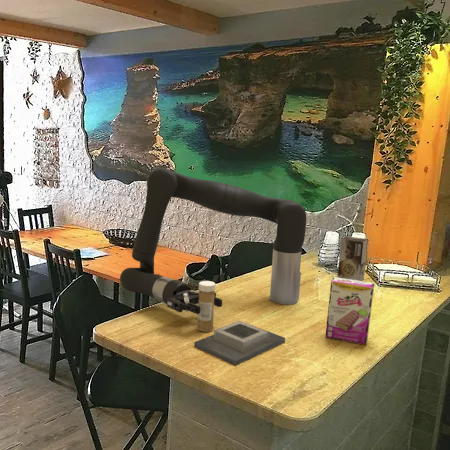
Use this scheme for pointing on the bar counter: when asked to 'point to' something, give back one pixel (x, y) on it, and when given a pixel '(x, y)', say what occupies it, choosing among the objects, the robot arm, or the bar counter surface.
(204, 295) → the sprinkles bottle
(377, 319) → the bar counter surface
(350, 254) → the cookie box
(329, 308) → the candy bar box
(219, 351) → the collar socket
